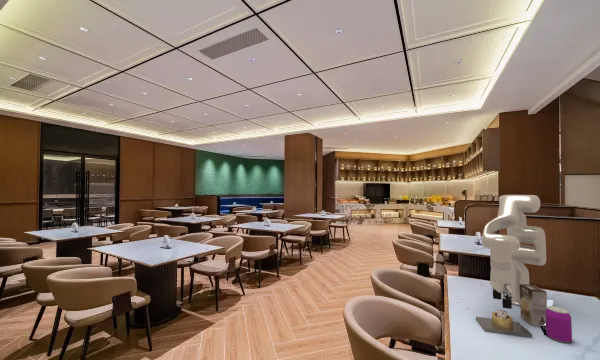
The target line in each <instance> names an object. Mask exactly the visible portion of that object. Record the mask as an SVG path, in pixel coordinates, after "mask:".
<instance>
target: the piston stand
mask: <svg viewBox="0 0 600 360" xmlns="http://www.w3.org/2000/svg"><path fill="white" fill-rule="evenodd" d="M496 312H497V316H498V317H501V318H506V319H507V315H508V312H507V311H506V310H504V309H500V308H499V309H496ZM475 321H476V322H477V323H478V324H479V326H480V327H481V328H482V330H483V331H484V332H486V333H493V334H501V335H506V336H507V335H508V336H515V337H522V338H528V339H533V334H532V333H531V332H530V331H529V330H528V329H527V328H526V327H525V326H524V325H523V324H521V323H520V322H519V321H515V320H513V328H512V329H504V328H500V327H497V326H495V325H494V324H493V323H492V317H491V318H489V317H482V316H475Z"/></svg>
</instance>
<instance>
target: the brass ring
mask: <svg viewBox="0 0 600 360" xmlns="http://www.w3.org/2000/svg"><path fill="white" fill-rule="evenodd" d="M491 319H492V323H493V324H494V325H495V326H497V327H500V328H504V329H512V328H513V321H514V320H513V317H512V316H511V315H509V314H507V319H506V318H501V317H498V316H497V311H493V312H492V313H491Z"/></svg>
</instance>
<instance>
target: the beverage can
mask: <svg viewBox="0 0 600 360" xmlns="http://www.w3.org/2000/svg"><path fill="white" fill-rule="evenodd" d="M545 313H546V327H545V334H546V335H547V336H548V337H549V338H550V339H552V340H554V341H556V342H560V343H563V344H565V343H566V344H569V343H571V342H572V341H573V332H572V331H573V330H572V329H573V326H572V317H571V314H570V313H569V310H567V309H565V308H562V307H559V306H554V305H547V310H546V312H545Z"/></svg>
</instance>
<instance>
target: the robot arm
mask: <svg viewBox="0 0 600 360" xmlns="http://www.w3.org/2000/svg"><path fill="white" fill-rule="evenodd" d="M498 203H499V206H498V212H497V216H496V217H495V218H493V219H491V220H490V221H489V222H487V223H486V224H485V226H484V228H483V230H482V231H483V232H482V236H481V244H482V247H484V248H486V249H487V250H489V254H490V276H489V277H490V278H489V279H490V280H489V281H490V286H491V288H492V298H493V300H501V302H502V304H501V305H502V309H506V310H507V309H509V310H512V309H513V305H515V306H518V307H520V284H528V285H530V273H529V269H528V268H527V267H526V265H527V264H529V265H532V266H533V265H534V266H535V265H536V266H544V265H546V263H547V242H546V233H545V230H544V229H543V228H542V227H539V226H532V225H527V216H526V215H525V214H524V213H537V212H538V211H539V210H540V208H541V200H540V197H539V196H538V195H536V194H535V195H534V194H504V195H500V196H499V198H498ZM504 229H506V234H507V235H506V234H497V233H494V232H496V231H498V230H504ZM521 243H522V244H521ZM525 244H529V245H525ZM530 245H533V246H530ZM525 264H526V265H525ZM512 304H513V305H512Z"/></svg>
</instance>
